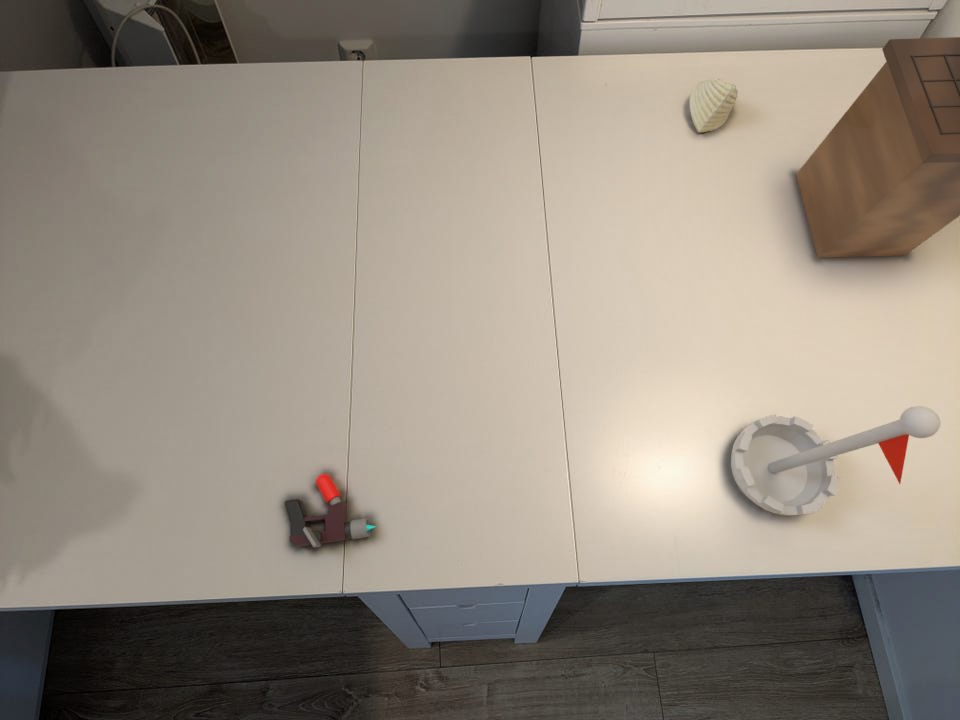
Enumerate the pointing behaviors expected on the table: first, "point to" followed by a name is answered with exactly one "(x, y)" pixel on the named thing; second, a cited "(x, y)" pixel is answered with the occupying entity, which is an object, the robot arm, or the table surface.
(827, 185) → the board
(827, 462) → the flag stand
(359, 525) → the toy gun
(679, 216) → the table surface
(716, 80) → the seashell
